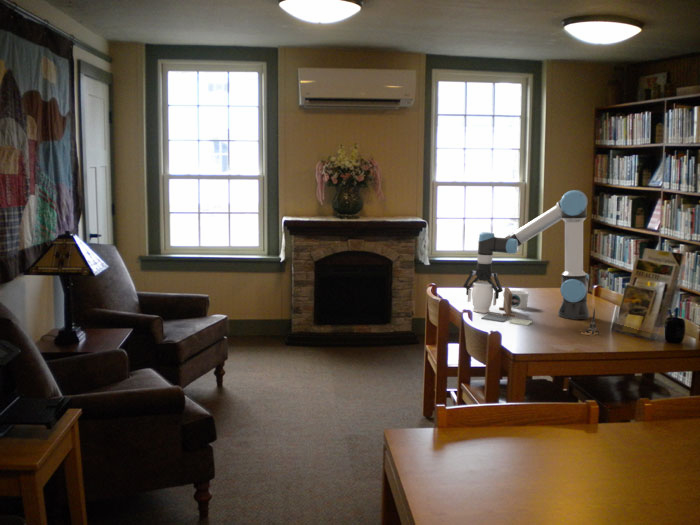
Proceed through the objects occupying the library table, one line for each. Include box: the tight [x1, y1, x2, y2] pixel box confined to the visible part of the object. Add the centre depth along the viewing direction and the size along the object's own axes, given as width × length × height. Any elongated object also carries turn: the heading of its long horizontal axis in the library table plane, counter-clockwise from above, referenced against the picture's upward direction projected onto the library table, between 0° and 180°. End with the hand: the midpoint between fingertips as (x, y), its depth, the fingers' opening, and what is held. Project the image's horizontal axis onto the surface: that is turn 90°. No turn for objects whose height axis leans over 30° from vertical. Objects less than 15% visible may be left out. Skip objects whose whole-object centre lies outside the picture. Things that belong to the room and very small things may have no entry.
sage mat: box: [508, 317, 533, 326], centre depth 345 cm, size 9×9×1 cm
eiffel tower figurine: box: [584, 307, 600, 334], centre depth 328 cm, size 15×10×13 cm
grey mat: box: [480, 313, 510, 323], centre depth 352 cm, size 11×11×1 cm
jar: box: [471, 280, 494, 314], centre depth 367 cm, size 11×10×15 cm
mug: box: [502, 289, 529, 310], centre depth 383 cm, size 13×10×8 cm
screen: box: [498, 286, 516, 318], centre depth 366 cm, size 6×18×12 cm, turn 175°
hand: (481, 303), depth 367 cm, fingers open, 13 cm apart
